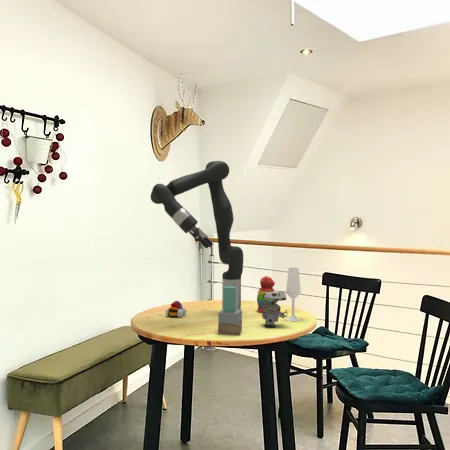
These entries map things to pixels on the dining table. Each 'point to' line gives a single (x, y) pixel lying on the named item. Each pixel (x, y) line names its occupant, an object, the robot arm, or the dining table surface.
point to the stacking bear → (265, 288)
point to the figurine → (273, 308)
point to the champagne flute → (293, 289)
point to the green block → (229, 299)
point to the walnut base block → (230, 329)
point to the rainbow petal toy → (176, 310)
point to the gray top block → (230, 317)
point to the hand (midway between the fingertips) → (210, 246)
